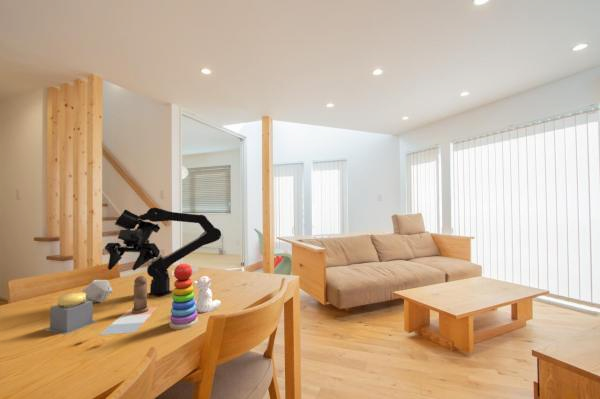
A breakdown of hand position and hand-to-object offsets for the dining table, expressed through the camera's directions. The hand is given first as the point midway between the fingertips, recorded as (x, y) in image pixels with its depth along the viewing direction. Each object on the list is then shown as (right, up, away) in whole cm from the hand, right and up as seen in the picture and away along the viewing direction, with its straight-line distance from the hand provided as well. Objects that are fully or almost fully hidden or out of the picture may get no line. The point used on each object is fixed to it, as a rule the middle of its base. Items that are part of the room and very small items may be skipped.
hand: (121, 269), depth 97 cm
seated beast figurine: (+31, -14, -3) cm, 34 cm away
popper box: (-4, -13, -16) cm, 21 cm away
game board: (+11, -13, -12) cm, 21 cm away
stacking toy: (+29, -13, -15) cm, 35 cm away
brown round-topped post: (+10, -13, -5) cm, 17 cm away
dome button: (-4, -11, -16) cm, 20 cm away
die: (-13, -14, +7) cm, 20 cm away
